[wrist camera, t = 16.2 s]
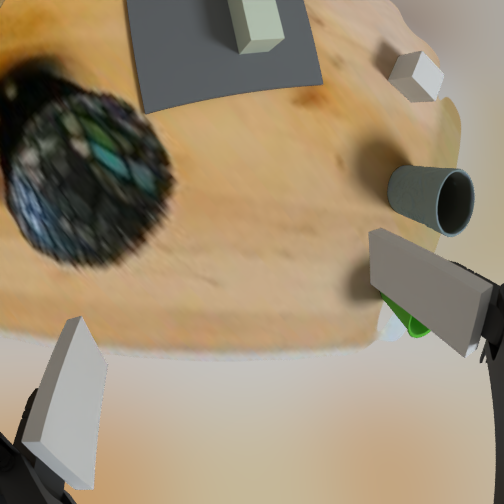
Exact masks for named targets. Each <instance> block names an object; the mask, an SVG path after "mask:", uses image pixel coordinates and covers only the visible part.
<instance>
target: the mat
mask: <svg viewBox="0 0 504 504" xmlns="http://www.w3.org/2000/svg"><path fill="white" fill-rule="evenodd" d="M275 1H276V5H277V9H278V13H279V17H280V21H281V25H282V29H283V33H284V37H285V39H283V40H282V41H281V42H280V43H278V44H277V45H276V46H275V47H274V48H272V49H271V50H270V51H269V52H258V53H248V54H239V51H238V46H237V41H236V37H235V32H234V28H233V23H232V18H231V14H230V9H229V5H228V0H127V7H128V15H129V22H130V29H131V36H132V43H133V49H134V55H135V61H136V67H137V73H138V78H139V84H140V89H141V94H142V100H143V105H144V110H145V114H149V113H153V112H156V111H160V110H164V109H168V108H172V107H176V106H180V105H185V104H189V103H194V102H199V101H203V100H208V99H214V98H219V97H224V96H230V95H236V94H242V93H249V92H256V91H263V90H272V89H280V88H290V87H301V86H314V85H323V80H322V75H321V70H320V65H319V61H318V56H317V52H316V48H315V43H314V39H313V35H312V31H311V27H310V23H309V19H308V16H307V12H306V8H305V4H304V1H303V0H275Z"/></svg>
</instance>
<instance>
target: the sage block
mask: <svg viewBox="0 0 504 504" xmlns="http://www.w3.org/2000/svg"><path fill="white" fill-rule="evenodd" d="M228 5H229V9H230V14H231V18H232V23H233V28H234V32H235V37H236V41H237V46H238V51H239V54H248V53H258V52H269V51H270V50H271V49H272V48H274V47H275V46H276V45H277V44H278V43H280V42H281V41H282V40H283V39H285V37H284V33H283V29H282V25H281V21H280V17H279V13H278V9H277V5H276V1H275V0H228Z"/></svg>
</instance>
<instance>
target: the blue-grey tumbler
mask: <svg viewBox="0 0 504 504" xmlns="http://www.w3.org/2000/svg"><path fill="white" fill-rule="evenodd" d="M387 195H388V200H389V203H390V205H391V207H392V208H393V209H394V210H395V211H396V212H397V213H399V214H401V215H403V216H405V217H408V218H410V219H413V220H415V221H417V222H419V223H422V224H425V225H426V226H427V227H429V228H432V229H434V230H435V231H437V232H439V233H441V234H443V235H445V236H447V237H454V236H456V235H458V234H460V233H461V232H462V231H463V230H464V229H465V228H466V226H467V224H468V223H469V221H470V218H471V215H472V212H473V208H474V200H475V196H474V187H473V183H472V180H471V178H470V177H469V175H468V174H467V173H466V172H465V171H463V170H461V169H454V168H435V167H422V166H411V165H406V166H401V167H399V168H398V169H396V170H395V171H394V172H393V174H392V175H391V178H390V180H389V184H388V191H387Z"/></svg>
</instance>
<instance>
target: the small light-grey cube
mask: <svg viewBox="0 0 504 504" xmlns="http://www.w3.org/2000/svg"><path fill="white" fill-rule="evenodd" d="M443 78H444V74H443V73H442V72H441V71H440V69H439V68H438V67H437V66H436V65H435V64H434V63H433V62H432V61H431V59H430V58H429V57H428V56H427V55H426V54H425V53H424V52H423V51H418V52H414V53H409V54H405V55H401V56H398V59H397V61H396V63H395V65H394V68H393V70H392V72H391V74H390V77H389V79H388V81H389V82H390V83H391V84H392V85H393V86H394V87H395V88H396V89H397V90H398V91H400V92H401V93H402V94H403V95H404V96H405V97H406V98H407V99H408V100H409V101H410V102H431V101H436V98H437V95H438V93H439V90H440V87H441V84H442V81H443Z"/></svg>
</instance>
